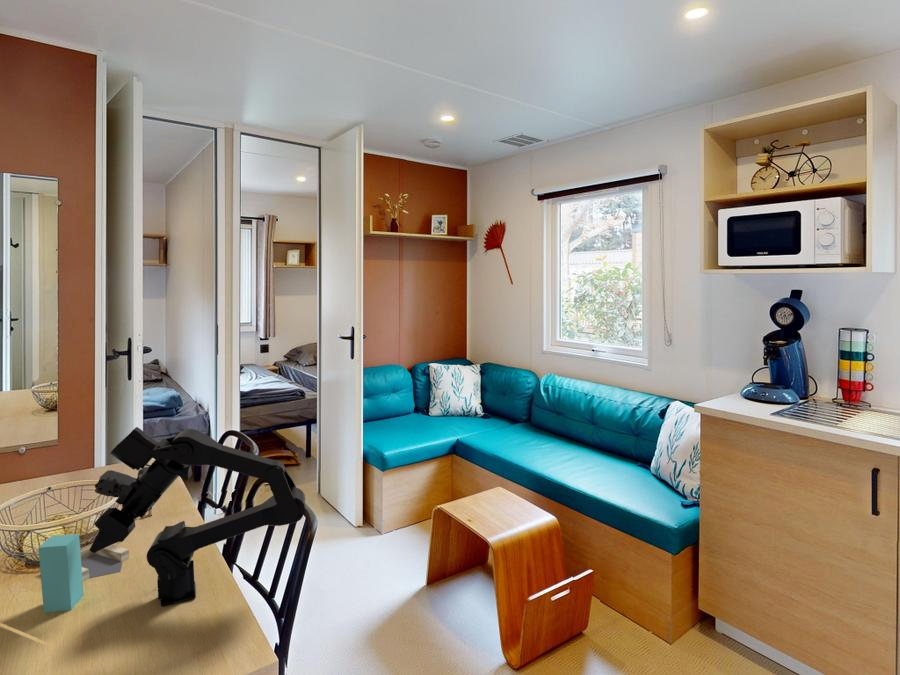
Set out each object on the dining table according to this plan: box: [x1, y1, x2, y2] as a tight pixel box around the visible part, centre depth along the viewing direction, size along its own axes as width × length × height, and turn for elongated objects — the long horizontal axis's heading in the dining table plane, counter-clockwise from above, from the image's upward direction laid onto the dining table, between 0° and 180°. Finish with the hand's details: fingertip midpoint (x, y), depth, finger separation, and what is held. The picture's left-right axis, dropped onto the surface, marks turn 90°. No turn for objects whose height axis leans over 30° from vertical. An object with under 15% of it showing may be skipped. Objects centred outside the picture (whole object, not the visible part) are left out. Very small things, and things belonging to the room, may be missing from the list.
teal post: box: [38, 533, 85, 613], centre depth 110 cm, size 5×5×14 cm
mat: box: [81, 554, 123, 579], centre depth 125 cm, size 12×12×1 cm
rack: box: [80, 542, 130, 582], centre depth 126 cm, size 11×12×2 cm
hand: (102, 540), depth 110 cm, fingers open, 9 cm apart
